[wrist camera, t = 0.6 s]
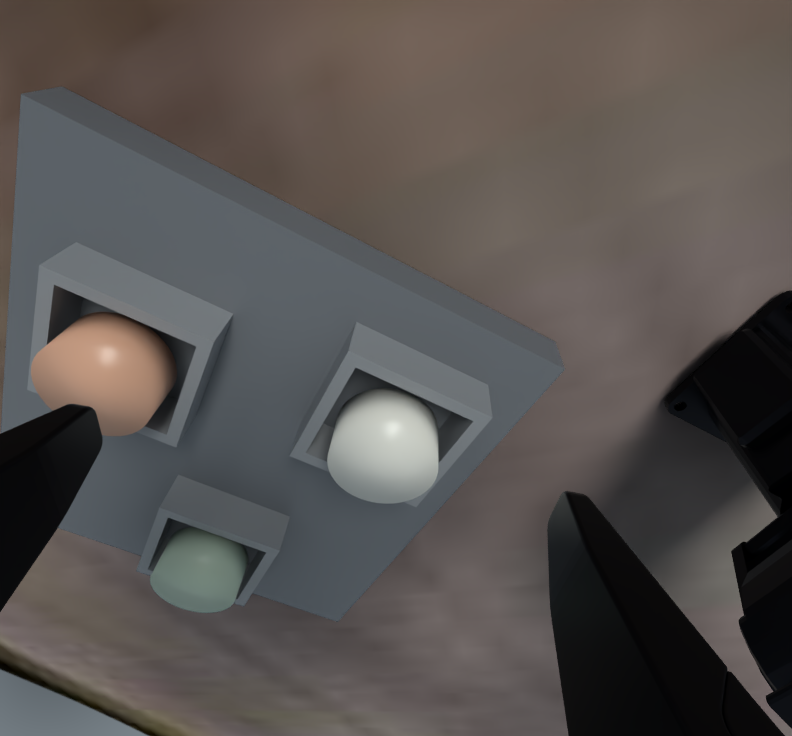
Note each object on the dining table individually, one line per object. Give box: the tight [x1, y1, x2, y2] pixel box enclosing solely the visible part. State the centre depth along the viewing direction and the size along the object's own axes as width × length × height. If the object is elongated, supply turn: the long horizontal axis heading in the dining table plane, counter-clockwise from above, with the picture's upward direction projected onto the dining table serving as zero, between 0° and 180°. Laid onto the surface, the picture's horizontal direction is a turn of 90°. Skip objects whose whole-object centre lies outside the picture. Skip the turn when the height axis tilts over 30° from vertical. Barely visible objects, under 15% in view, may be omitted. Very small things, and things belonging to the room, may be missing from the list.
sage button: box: [150, 527, 249, 613], centre depth 24 cm, size 4×4×2 cm
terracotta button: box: [31, 312, 177, 436], centre depth 18 cm, size 4×4×2 cm
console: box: [1, 87, 565, 622], centre depth 23 cm, size 20×22×4 cm
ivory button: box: [327, 388, 439, 504], centre depth 19 cm, size 4×4×2 cm
